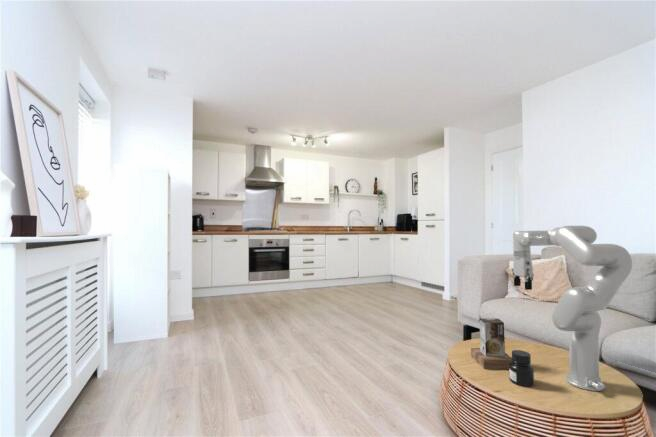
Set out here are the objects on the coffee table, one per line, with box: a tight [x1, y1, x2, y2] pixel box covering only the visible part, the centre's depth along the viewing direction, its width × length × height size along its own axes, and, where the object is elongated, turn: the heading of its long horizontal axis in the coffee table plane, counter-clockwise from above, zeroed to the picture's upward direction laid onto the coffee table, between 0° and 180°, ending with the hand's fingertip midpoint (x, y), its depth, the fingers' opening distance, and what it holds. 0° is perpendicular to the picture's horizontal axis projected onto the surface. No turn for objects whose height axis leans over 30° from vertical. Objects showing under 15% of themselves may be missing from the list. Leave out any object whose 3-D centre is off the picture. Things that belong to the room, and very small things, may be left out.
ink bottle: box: [508, 349, 535, 388], centre depth 132 cm, size 10×9×12 cm
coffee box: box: [479, 318, 506, 356], centre depth 151 cm, size 9×6×16 cm
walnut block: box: [470, 347, 512, 370], centre depth 151 cm, size 14×14×4 cm
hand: (522, 287), depth 163 cm, fingers open, 9 cm apart
